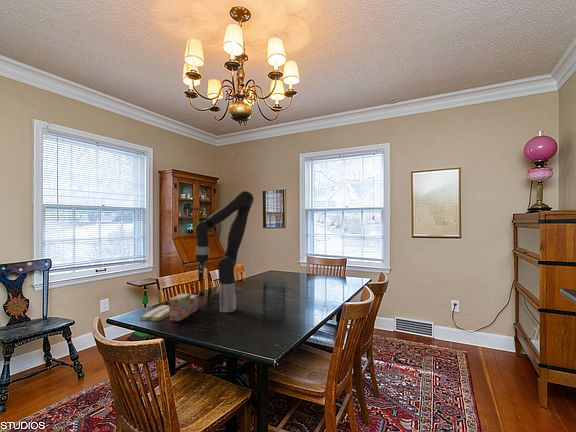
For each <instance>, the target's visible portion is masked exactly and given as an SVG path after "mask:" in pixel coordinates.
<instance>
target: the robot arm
mask: <svg viewBox="0 0 576 432" xmlns="http://www.w3.org/2000/svg"><path fill="white" fill-rule="evenodd" d="M253 203H254V196H253V194H252V193H251V192H250V191H246V190H245V191H244V190H243V191H241V192H239V194H238V195H237V196H236V197H234V198H233V199H232V200H231V201H230V202H228V204H226V205H224V206H223V207H221V208H220V209H217V210H216V211H214V212H213V213H212V214H211V215H210V216H209V217H208V218H207V219H205V220H203V221H198V223H197V224H196V227H195V233H196V235H195V236H196V248H195V262H197V263H198V265H197V274H198V282H203V279H204V275H205V269H206V263H207V262H208V261H209V246H210V245H209V243H210V242H209V237H208V232H209V231H211V230H212V229H213V228H215V226H217V225H218V224H220V223H222V222H224V221H225V220H226V219H228V218H229V217H230V216H231V215H232V214H233V213H235V212H236V213H235V215H234V217H233V220H232V222H231V223H230V227H229V230H228V236H227V247H226V250H225V252H224V255H223V257H222V258H221V259H220V260H219V263H218V280H219V312H220V313H234V312H235V310H236V309H237V294H236V278H235V271H234V270H235V269H234V268H235V267H236V265H237V258H238V253H239V250H240V249H239V248H240V246H241V244H242V242H243V238H244V234H245V231H246V226H247V222H248V217H249V213H250V210H251V207H252V205H253Z"/></svg>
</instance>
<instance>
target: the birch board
mask: <svg viewBox="0 0 576 432" xmlns="http://www.w3.org/2000/svg"><path fill="white" fill-rule="evenodd" d="M168 317H169V304H166V305H165V304H161V305H159V306H156V307H155V308H154V309H151V310H149V311H147V312H146V313H143V314H142V315H141V316H139V320H140V321H155V322H157V321H158V322H160V321H162V320H164V319H166V318H168Z"/></svg>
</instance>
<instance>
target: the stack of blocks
mask: <svg viewBox="0 0 576 432" xmlns="http://www.w3.org/2000/svg"><path fill="white" fill-rule="evenodd" d="M168 301H169V302H168V303H169V304H168V305H169V315H168V318H169V319H168V320H169V321H173V322H180V321H181V320H184V319H185V318H187V317H189V316H190V315H193V313H195V312H197V311H198V310H199V294H191V293H179V294H177V295H176V296H174V297H171V298H169V300H168Z"/></svg>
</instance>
